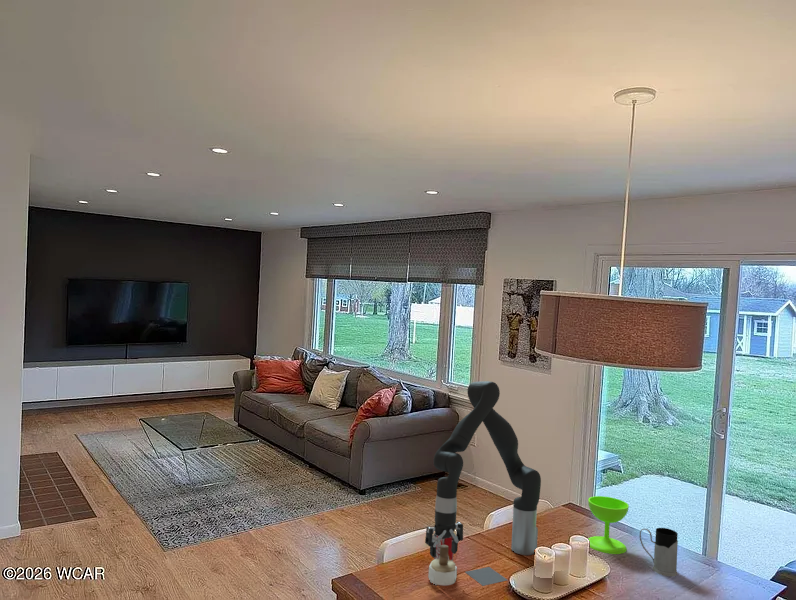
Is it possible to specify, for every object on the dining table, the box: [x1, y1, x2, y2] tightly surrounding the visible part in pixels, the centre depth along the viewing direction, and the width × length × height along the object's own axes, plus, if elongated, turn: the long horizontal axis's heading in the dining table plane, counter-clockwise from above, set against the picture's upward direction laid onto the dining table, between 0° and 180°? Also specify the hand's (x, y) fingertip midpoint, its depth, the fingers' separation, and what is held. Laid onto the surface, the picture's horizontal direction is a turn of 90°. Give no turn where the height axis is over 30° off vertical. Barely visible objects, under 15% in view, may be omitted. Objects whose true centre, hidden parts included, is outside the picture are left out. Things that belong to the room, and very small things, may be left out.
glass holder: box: [639, 527, 679, 578], centre depth 218 cm, size 9×14×15 cm, turn 47°
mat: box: [464, 566, 508, 587], centre depth 203 cm, size 11×11×1 cm
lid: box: [430, 545, 456, 572], centre depth 199 cm, size 8×8×7 cm
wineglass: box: [587, 495, 630, 555], centre depth 237 cm, size 16×16×18 cm
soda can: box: [433, 535, 454, 562], centre depth 210 cm, size 7×7×12 cm
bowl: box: [427, 561, 458, 586], centre depth 199 cm, size 9×9×5 cm
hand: (443, 554), depth 199 cm, fingers open, 8 cm apart
